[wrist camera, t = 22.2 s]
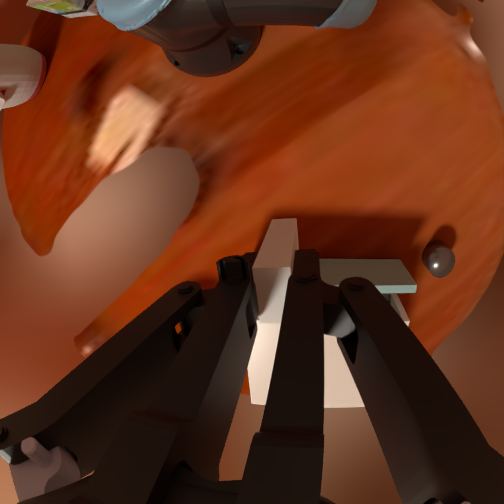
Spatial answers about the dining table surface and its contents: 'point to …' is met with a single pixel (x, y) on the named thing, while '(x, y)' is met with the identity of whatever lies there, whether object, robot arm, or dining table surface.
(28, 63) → the citrus juicer
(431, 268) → the grey knob
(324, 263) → the drawer
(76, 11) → the tea box
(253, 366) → the white drawer box
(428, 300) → the dining table surface
